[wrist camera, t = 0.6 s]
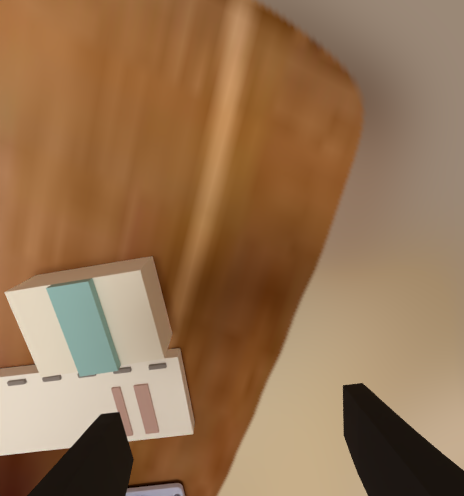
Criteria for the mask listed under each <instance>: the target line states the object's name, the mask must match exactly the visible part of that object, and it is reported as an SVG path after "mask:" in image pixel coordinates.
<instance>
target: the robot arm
mask: <svg viewBox="0 0 464 496" xmlns="http://www.w3.org/2000/svg"><path fill="white" fill-rule="evenodd" d="M343 418H344V437H345V440H346V443H347V445H348V448H349V451H350V454H351V457H352V459H353V462H354V465H355V467H356V469H357V472H358V475H359V477H360V479H361V481H362V483H363V486H364V488H365V490H366V492H367V494H368V496H464V471H463V470H462V469H461V468H460V467H458V466H457V465H456V464H455V463H453V462H452V461H451V460H450V459H449V458H447V457H446V456H445V455H444V454H442V453H441V452H440V451H439V450H438V449H437V448H435V447H434V446H433V445H432V444H430V443H429V442H428V441H427V440H426V439H425V438H424V437H422V436H421V435H420V434H419V433H417V432H416V431H415V430H414V429H413V428H412V427H411V426H410V425H408V424H407V423H406V422H405V421H404V420H403V419H402V418H400V417H399V416H398V415H397V414H396V413H395V412H394V411H393V410H392V409H390V408H389V407H388V406H387V405H386V404H385V403H384V402H382V400H380V399H379V398H378V397H377V396H376V395H375V394H374V393H373V392H372V391H371V390H370V389H368V388H367V387H366V386H365V385H364V384H362V383H360V384H352V385H343ZM133 460H134V459H133V456H132V453H131V449H130V446H129V443H128V439H127V436H126V432H125V429H124V426H123V422H122V419H121V415H120V412H114V413H105V414H100V415H99V417H98V418H97V419H96V420H95V421H94V422H93V423H92V424H91V425H90V426H89V428H88V429H87V430H86V431H85V432H84V433H83V434H82V435H81V437H80V438H79V439H78V440H77V441H76V442H75V443H74V445H73V446H72V447H71V448H70V449H69V450H68V451H67V452H66V454H65V455H64V456H63V457H62V458H61V459H60V460H59V461H58V463H57V464H56V465H55V466H54V467H53V468H52V469H51V470H50V471H49V472H48V474H47V475H46V476H45V477H44V478H43V479H42V480H41V481H40V482H39V484H38V485H37V486H36V487H35V488H34V489H33V490H32V491H31V492H30V493H29V494H28V495H27V496H185V494H184V489H183V486H182V485H181V484H180V483H171V484H162V485H153V486H144V487H135V488H128V483H129V479H130V474H131V469H132V465H133Z"/></svg>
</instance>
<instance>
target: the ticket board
mask: <svg viewBox="0 0 464 496" xmlns="http://www.w3.org/2000/svg"><path fill="white" fill-rule="evenodd" d="M114 412H120V415H121V419H122V422H123V426H124V429H125V432H126V436H127V439H128V441H136V440H145V439H154V438H163V437H172V436H181V435H190V434H193V432H194V424H195V421H194V416H193V411H192V406H191V401H190V396H189V391H188V386H187V381H186V375H185V370H184V365H183V360H182V355H181V350H180V348H176V349H167V352H166V355H165V358H164V359H159V360H152V361H146V362H139V363H133V364H126V365H121V366H120V368H119V370H118V371H114V372H108V373H101V374H95V375H88V376H82V377H80V376H79V373H78V372H74V373H68V374H61V375H55V376H48V377H42V378H41V376H40V374H39V372H38V369H37V367H36V365H27V366H19V367H10V368H1V369H0V456H1V455H10V454H19V453H28V452H37V451H46V450H55V449H64V448H71V447H72V446H73V445H74V443H75V442H76V441H77V440H78V439H79V438H80V437H81V435H82V434H83V433H84V432H85V431H86V430H87V429H88V428H89V426H90V425H91V424H92V423H93V422H94V421H95V420H96V419H97V418H98V417H99V415H100V414H105V413H114Z"/></svg>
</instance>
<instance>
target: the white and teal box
mask: <svg viewBox="0 0 464 496" xmlns="http://www.w3.org/2000/svg"><path fill="white" fill-rule="evenodd" d="M4 293H5V295H6V297H7V300H8V302H9V304H10V307H11V309H12V311H13V313H14V316H15V318H16V320H17V323H18V325H19V327H20V330H21V332H22V334H23V337H24V339H25V341H26V344H27V346H28V348H29V351H30V353H31V355H32V358H33V360H34V362H35V365H36V367H37V369H38V372H39V374H40V376H41V378H42V377H48V376H55V375H61V374H68V373H74V372H78V373H79V376H80V377H82V376H88V375H95V374H101V373H108V372H114V371H118V370H119V368H120V366H121V365H126V364H133V363H139V362H146V361H152V360H159V359H164V358H165V355H166V352H167V349H168V346H169V343H170V340H171V337H172V330H171V326H170V322H169V318H168V314H167V310H166V307H165V303H164V299H163V295H162V291H161V287H160V283H159V279H158V275H157V271H156V267H155V263H154V260H153V256H150V257H144V258H138V259H132V260H126V261H119V262H113V263H107V264H101V265H95V266H89V267H83V268H77V269H71V270H65V271H58V272H52V273H46V274H40V275H35V276H33V277H32V278H30V279H28V280H26V281H24V282H22V283H21V284H19V285H17V286H15V287H13V288H11V289H10V290H8V291H6V292H4Z"/></svg>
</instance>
